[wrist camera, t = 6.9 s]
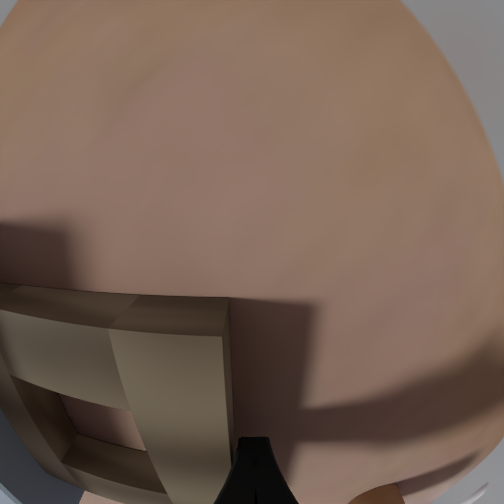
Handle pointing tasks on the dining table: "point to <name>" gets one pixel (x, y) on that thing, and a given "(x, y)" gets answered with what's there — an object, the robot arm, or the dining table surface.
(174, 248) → the dining table surface
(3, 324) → the socket block
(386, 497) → the dowel
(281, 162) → the dining table surface
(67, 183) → the dining table surface
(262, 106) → the dining table surface
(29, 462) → the wall
